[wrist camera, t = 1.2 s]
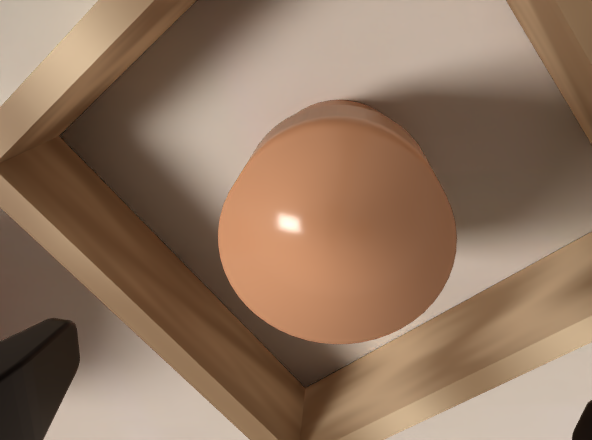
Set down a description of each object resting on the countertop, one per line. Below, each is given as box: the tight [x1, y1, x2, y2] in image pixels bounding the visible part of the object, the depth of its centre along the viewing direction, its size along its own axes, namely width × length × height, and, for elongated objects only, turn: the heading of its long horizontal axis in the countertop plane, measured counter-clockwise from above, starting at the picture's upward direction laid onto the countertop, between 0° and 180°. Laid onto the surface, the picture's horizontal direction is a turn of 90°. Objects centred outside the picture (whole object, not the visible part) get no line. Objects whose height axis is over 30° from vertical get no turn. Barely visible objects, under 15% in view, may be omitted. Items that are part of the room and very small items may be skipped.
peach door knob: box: [218, 100, 457, 344], centre depth 16 cm, size 6×6×6 cm
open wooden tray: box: [0, 0, 592, 440], centre depth 17 cm, size 18×18×4 cm
